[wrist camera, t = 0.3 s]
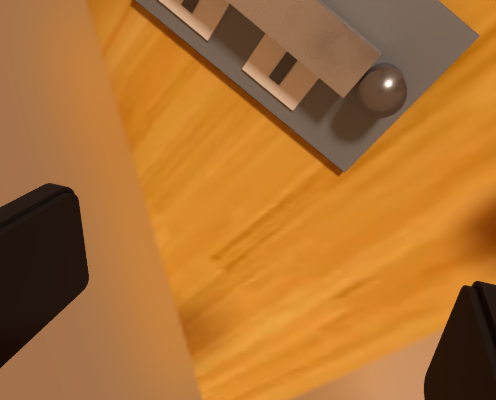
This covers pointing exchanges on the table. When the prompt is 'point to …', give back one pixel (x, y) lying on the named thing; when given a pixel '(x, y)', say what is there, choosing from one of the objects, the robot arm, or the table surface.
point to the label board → (306, 82)
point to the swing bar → (330, 50)
